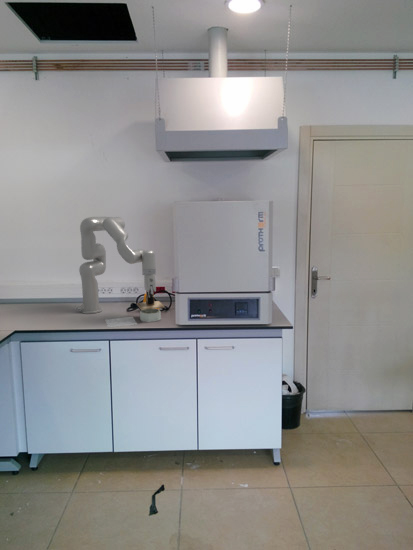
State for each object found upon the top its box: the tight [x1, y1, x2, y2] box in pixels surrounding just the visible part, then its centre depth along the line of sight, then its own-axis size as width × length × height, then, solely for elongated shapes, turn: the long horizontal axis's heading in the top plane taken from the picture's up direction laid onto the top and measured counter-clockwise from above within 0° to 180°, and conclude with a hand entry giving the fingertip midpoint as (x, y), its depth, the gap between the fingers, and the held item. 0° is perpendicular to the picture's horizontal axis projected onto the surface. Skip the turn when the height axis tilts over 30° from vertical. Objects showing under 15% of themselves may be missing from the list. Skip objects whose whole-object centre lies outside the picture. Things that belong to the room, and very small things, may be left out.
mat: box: [104, 316, 138, 328], centre depth 218 cm, size 16×16×1 cm
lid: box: [136, 296, 165, 311], centre depth 222 cm, size 14×14×6 cm
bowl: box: [139, 308, 162, 323], centre depth 223 cm, size 11×11×6 cm
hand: (150, 302), depth 222 cm, fingers closed on lid, 4 cm apart
